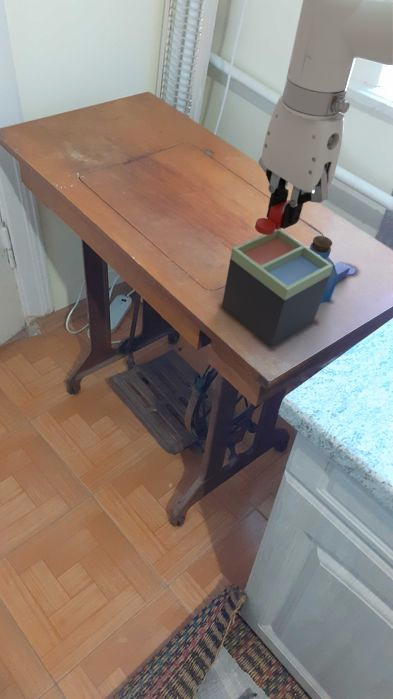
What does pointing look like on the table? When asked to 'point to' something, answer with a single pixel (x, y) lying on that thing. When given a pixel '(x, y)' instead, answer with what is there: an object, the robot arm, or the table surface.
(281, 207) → the red block with cylinder
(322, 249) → the perfume bottle
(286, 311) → the riser
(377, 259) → the table surface
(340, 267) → the blue block
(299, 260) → the organiser
